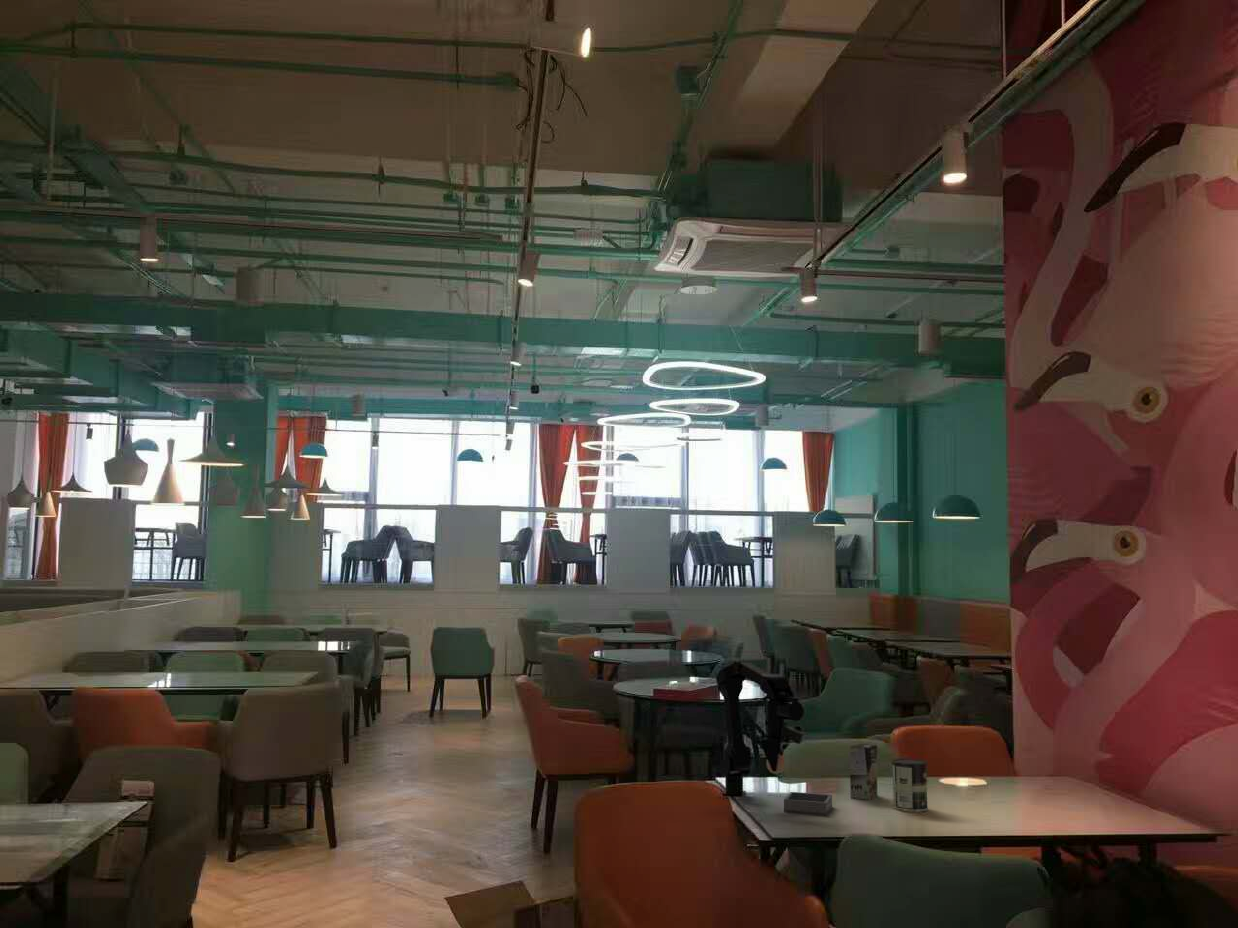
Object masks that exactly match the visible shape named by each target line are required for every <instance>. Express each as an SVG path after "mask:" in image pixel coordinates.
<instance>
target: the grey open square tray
mask: <svg viewBox="0 0 1238 928" xmlns="http://www.w3.org/2000/svg"><path fill="white" fill-rule="evenodd" d="M832 807H833V795H832V794H824V793H812V792H811V793H809V792H798V791H790V792H789V793H788V795H786V797H785V798H784V799H783V812H784V813H794V812H795V813H796V814H798V813H799V814H809V815H821V816H827V815H828V813H829V812H830V811H831V809H832ZM795 813H794V814H795Z"/></svg>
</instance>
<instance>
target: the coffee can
mask: <svg viewBox="0 0 1238 928" xmlns="http://www.w3.org/2000/svg"><path fill="white" fill-rule="evenodd" d="M891 763H892V797H893V799H892V801H893V804H892V805H893V807H894V808H895V809H894V808H893V807H892V808H893V809H894V810H897V809H898V810H897V811H900V810H903V812H908V811H909V813H910V812H911V813H922V812H926V811H928V784H927V783H928V779H927V778H928V777H927V776H928V775H927V774H928V773H927V765H928V763H927V761H925V760H923V759H914V758H895V759H892V760H891Z"/></svg>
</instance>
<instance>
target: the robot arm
mask: <svg viewBox="0 0 1238 928" xmlns="http://www.w3.org/2000/svg"><path fill="white" fill-rule="evenodd" d="M747 679H748V680H749V681H752V682H754V683H755V684H757V685H758V686H759V689H760V691H762V692H763V693H764V694H765V696H763V698H762V699H761V700H762V702H765V704H766V705H765V706H766V711H765V713H766V720H765V721H764V725H766V734H765V735H764V738H763V739H761V740H760V742H759V749H761V750H762V751H763V753H764V754H765V757H766V760H767V759H768V762H769V764H770V766H771V769H772V771H775V772H776V770H777V763H778V756H779V754H780V755H782V756H783V757H784V752H785V750H786V749H787V748H788V747H789V746H790V744H791V742H794V743H795V744H797V745H800V744H802V742H803V739H804V737H805V732H804V731H803V727H802V726H801V725H798V724H797V725H795V727H793V726H789V725H788V724H789V723H788V721H794V722H797V721H800V720H801V719H802V718H803V716H804V712H805V709H804V707H803V704H802V703H800V702H799V698H798V697H795V695H794V692H793V690H792V688H791V686H790V683H789V682H788V679H787V677H786V676H785V675H780V674H776V673H770V672H767V671H765V670H764V669H762V668H760V667H758V666H756V665H754V664H753V663H751V661H749V660H745V659H743V660H735V661H734V662H733V663H732V664H730V665H728V666H725V667H724V668H722V669H721V670H719V671H718V673H717V674H716V676H715V680H716V684H717V689H718V691H719V693H720V694H721V696H722V697H723V704H724V713H725V723H726V725H725V726H726V733H727V744H726V747H725V749H724V751H723V757H724V758H723V760H722V761H721V763H720V764H719V766H718V771H719V775H721V776H725V778H724V779H725V780H724V781H725V785H724V786H725V787H724V791H723V792H725V793H726V794H727V796H735V797H736V796H739V797H743V796H744V795H745V794H746V793H747V791H746V790H744V775H749V774H750V769H751V766H752V761H753V758H752V755H751V747H750V746H747V745H746V743H745V742H744V735H743V725H742V716H741V706H740V704H741V703H740V695H741V692H742V690H743V689H744V688H743V686H744V683H743V682H745V681H746V680H747ZM786 742H787V743H786Z"/></svg>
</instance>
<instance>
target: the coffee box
mask: <svg viewBox="0 0 1238 928" xmlns="http://www.w3.org/2000/svg"><path fill="white" fill-rule="evenodd" d="M877 746H878V745H877V744H869V743H857V744H853V745H851V746H849V774H850V776H849V777H850V778H849V781H850V783H849V785H850V786H849V787H850V790H849V791H850V795H849V796H850V798H851V797H854V798H853V799H858V798H860V799H859V800H866V799H869V800H871V799H873V798H875V797H877V796H878V748H877ZM874 796H875V797H874ZM872 797H873V798H872Z"/></svg>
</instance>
